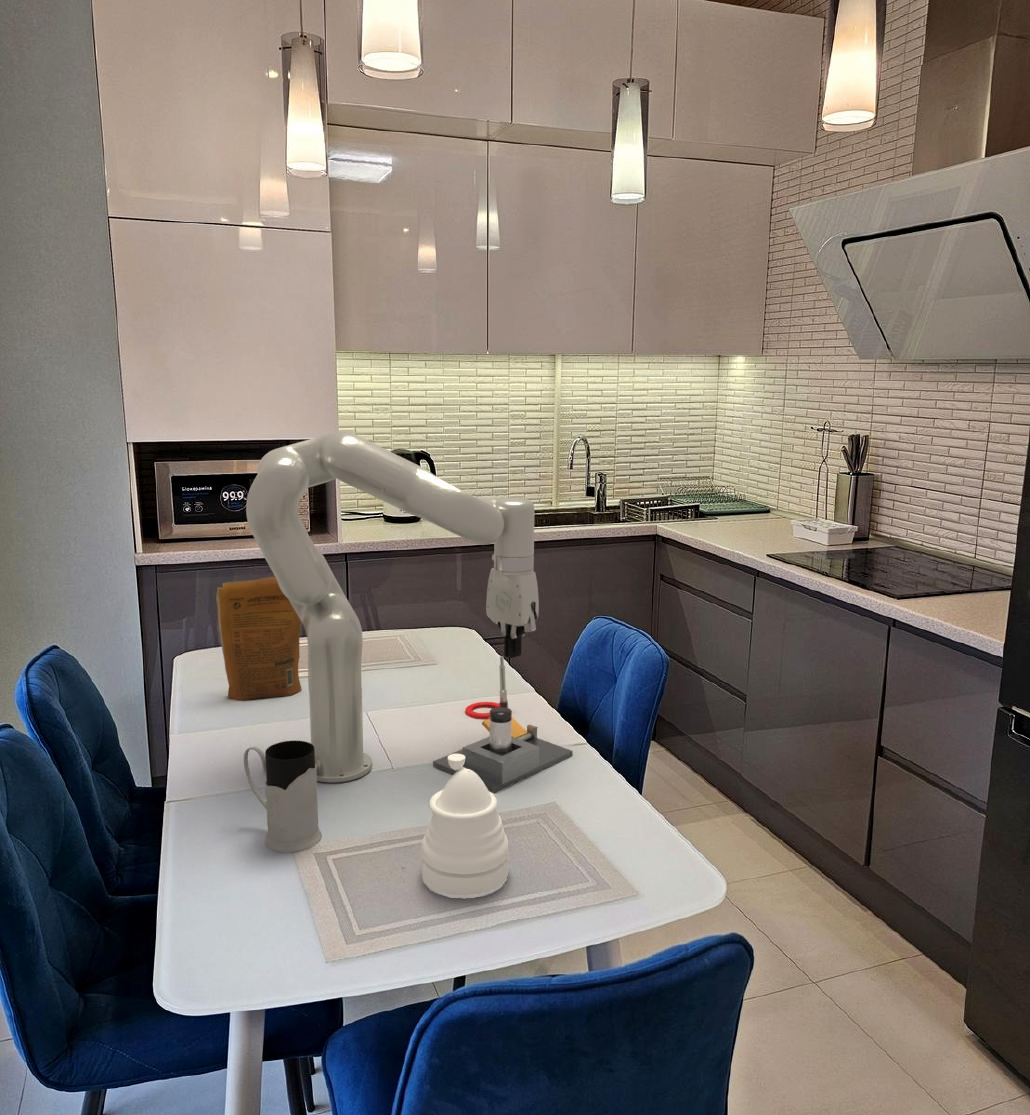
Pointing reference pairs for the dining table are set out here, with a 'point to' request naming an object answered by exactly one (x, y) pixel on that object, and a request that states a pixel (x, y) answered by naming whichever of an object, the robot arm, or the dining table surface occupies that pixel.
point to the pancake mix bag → (258, 639)
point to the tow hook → (502, 703)
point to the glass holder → (289, 795)
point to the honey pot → (464, 837)
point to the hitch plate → (544, 762)
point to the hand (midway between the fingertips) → (512, 655)
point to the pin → (500, 730)
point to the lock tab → (512, 729)
